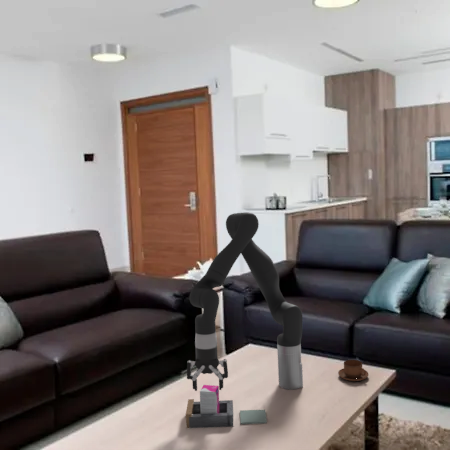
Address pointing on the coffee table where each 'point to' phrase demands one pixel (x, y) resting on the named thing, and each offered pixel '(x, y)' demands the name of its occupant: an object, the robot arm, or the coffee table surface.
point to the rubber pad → (253, 416)
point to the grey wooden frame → (209, 415)
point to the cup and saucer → (353, 371)
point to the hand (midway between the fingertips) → (208, 389)
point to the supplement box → (209, 399)
